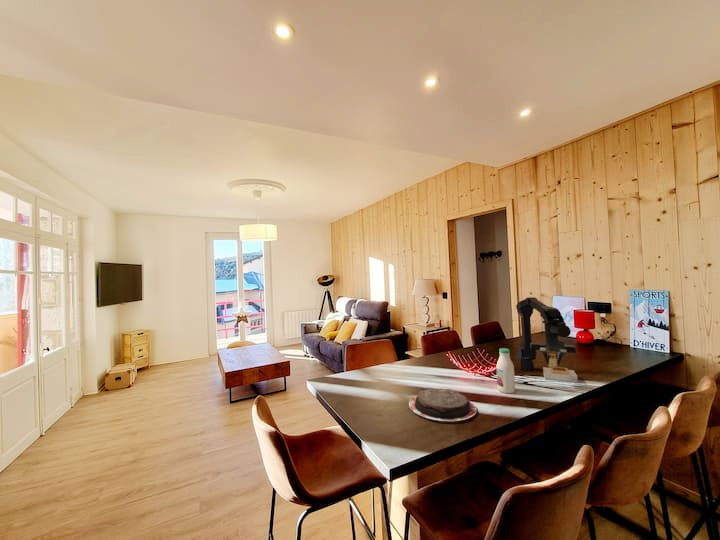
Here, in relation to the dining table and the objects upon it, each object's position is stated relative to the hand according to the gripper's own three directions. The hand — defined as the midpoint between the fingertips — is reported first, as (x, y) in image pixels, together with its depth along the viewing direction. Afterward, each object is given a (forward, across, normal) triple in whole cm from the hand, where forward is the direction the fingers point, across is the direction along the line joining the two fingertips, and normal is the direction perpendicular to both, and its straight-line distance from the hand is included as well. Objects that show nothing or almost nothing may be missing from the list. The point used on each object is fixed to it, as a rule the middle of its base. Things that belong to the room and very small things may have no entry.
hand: (553, 364), depth 144 cm
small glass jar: (+1, 0, 0) cm, 1 cm away
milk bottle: (+11, -21, -16) cm, 29 cm away
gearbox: (+10, +4, +14) cm, 18 cm away
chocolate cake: (+11, -45, -47) cm, 66 cm away
